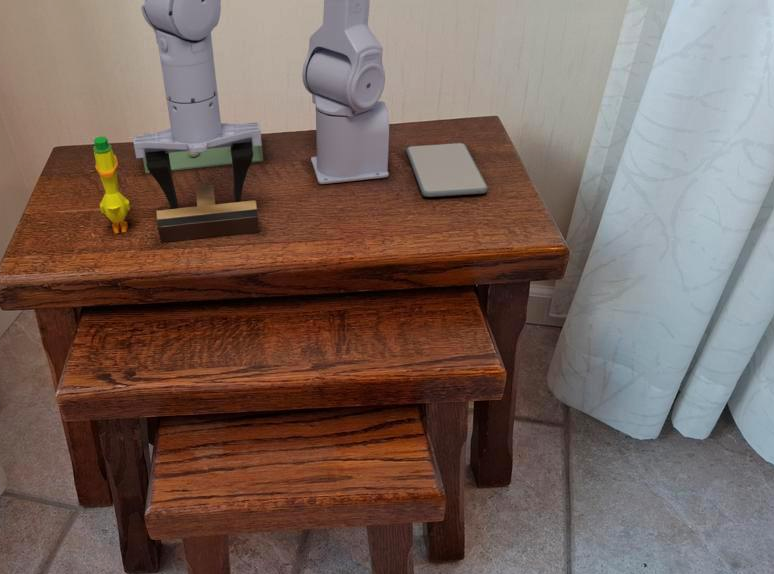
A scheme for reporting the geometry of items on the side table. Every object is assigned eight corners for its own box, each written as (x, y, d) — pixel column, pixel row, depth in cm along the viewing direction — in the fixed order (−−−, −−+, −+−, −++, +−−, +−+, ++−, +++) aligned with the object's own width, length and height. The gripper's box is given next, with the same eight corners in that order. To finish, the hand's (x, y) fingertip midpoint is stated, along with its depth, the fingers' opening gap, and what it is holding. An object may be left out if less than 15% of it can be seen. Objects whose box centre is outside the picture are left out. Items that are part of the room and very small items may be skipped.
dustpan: (263, 161, 109) (261, 142, 107) (145, 173, 108) (142, 154, 107) (257, 135, 116) (256, 116, 114) (147, 146, 116) (144, 128, 114)
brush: (259, 233, 94) (253, 195, 97) (257, 216, 91) (252, 178, 94) (161, 243, 93) (159, 205, 96) (157, 226, 91) (155, 188, 94)
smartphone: (464, 142, 108) (489, 188, 96) (464, 148, 108) (488, 195, 97) (405, 145, 108) (423, 192, 96) (405, 152, 108) (422, 200, 97)
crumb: (198, 157, 110) (203, 148, 111) (190, 149, 109) (195, 139, 110) (191, 160, 111) (196, 151, 112) (182, 152, 110) (187, 143, 111)
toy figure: (106, 217, 99) (86, 126, 91) (134, 214, 99) (116, 123, 91) (106, 243, 94) (84, 149, 86) (135, 239, 94) (116, 145, 86)
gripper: (124, 114, 81) (146, 228, 90) (260, 100, 82) (268, 215, 91) (127, 91, 87) (147, 200, 96) (254, 78, 87) (263, 188, 96)
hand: (206, 206), depth 94 cm, fingers open, 7 cm apart
